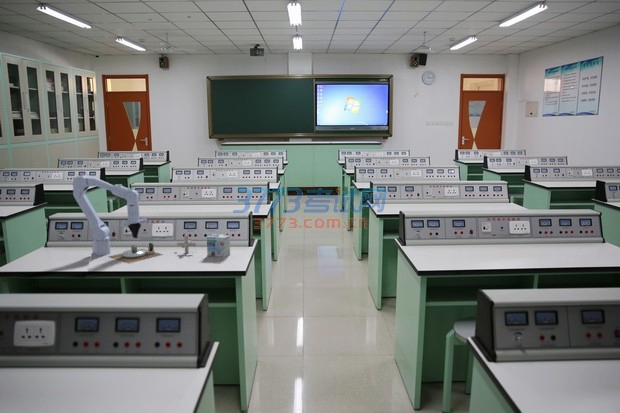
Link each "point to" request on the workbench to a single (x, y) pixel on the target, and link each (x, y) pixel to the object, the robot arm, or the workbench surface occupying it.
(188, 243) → the pipe connector
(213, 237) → the light bulb box
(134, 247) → the post
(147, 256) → the base board
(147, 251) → the crank
